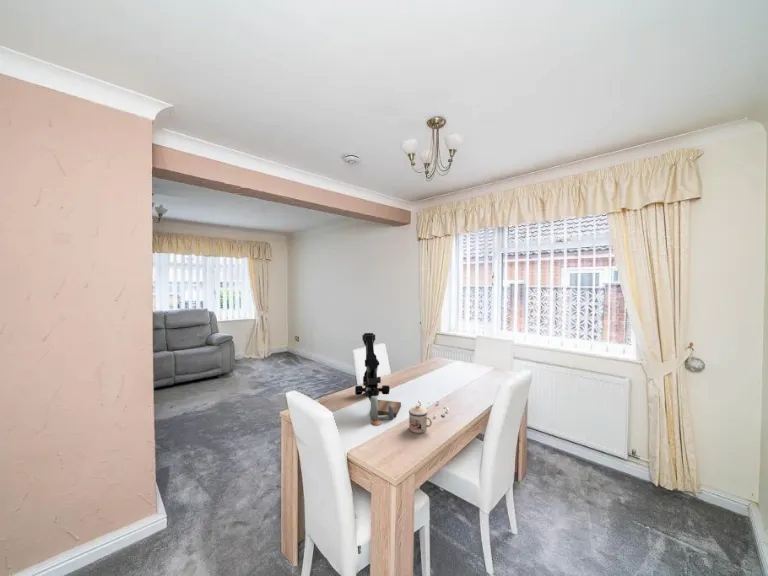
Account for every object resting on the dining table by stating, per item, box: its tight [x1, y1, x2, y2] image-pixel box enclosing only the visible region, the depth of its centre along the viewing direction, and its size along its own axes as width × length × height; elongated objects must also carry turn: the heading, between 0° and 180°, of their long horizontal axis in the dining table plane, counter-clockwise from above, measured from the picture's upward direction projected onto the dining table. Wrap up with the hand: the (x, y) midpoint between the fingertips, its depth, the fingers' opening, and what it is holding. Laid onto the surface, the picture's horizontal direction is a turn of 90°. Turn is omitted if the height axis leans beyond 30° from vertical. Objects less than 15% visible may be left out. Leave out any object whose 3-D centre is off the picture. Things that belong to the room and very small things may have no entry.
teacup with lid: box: [408, 404, 433, 434], centre depth 144 cm, size 12×9×12 cm
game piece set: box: [417, 399, 450, 419], centre depth 165 cm, size 19×20×4 cm
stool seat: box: [370, 399, 402, 426], centre depth 160 cm, size 14×25×2 cm, turn 165°
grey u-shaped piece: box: [370, 396, 395, 421], centre depth 155 cm, size 12×4×12 cm, turn 98°
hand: (372, 405), depth 156 cm, fingers closed, pressing on grey u-shaped piece
